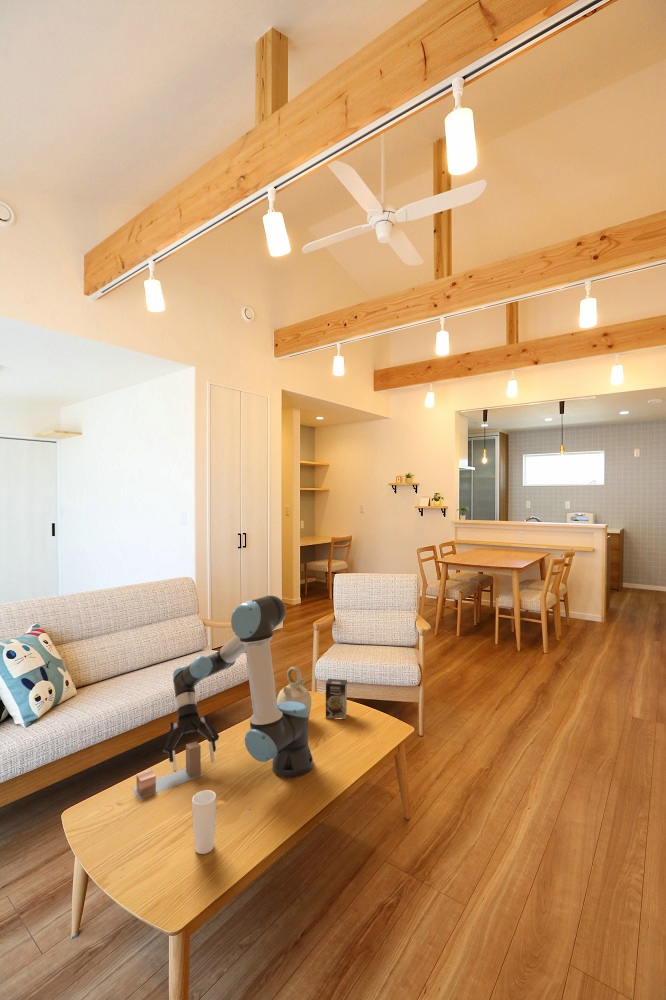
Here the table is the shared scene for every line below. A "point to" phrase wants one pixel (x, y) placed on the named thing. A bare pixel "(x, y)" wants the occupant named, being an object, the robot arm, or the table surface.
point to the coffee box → (336, 698)
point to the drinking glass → (204, 820)
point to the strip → (183, 775)
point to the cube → (146, 782)
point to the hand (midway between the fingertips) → (194, 766)
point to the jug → (295, 691)
